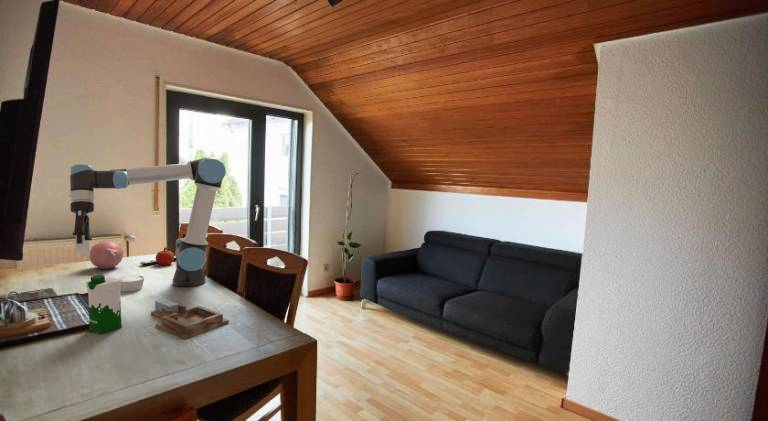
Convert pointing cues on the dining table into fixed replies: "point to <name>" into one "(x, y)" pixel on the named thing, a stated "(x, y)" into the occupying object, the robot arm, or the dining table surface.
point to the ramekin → (131, 283)
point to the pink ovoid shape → (106, 254)
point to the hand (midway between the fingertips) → (83, 254)
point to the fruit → (164, 257)
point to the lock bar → (166, 305)
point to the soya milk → (104, 304)
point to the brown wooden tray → (189, 320)
